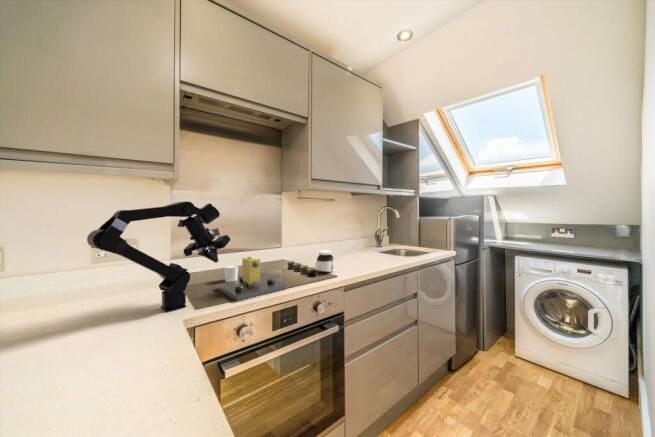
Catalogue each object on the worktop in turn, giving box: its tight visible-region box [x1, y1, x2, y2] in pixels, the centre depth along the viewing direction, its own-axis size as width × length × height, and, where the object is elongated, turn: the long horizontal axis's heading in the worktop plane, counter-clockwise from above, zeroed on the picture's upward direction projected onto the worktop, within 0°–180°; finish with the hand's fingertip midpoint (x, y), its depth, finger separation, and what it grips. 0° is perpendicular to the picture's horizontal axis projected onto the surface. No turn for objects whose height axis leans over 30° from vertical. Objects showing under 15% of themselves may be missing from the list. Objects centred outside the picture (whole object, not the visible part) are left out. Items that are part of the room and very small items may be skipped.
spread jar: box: [314, 249, 335, 275], centre depth 141 cm, size 12×11×12 cm
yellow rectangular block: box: [241, 255, 261, 284], centre depth 111 cm, size 5×9×12 cm, turn 42°
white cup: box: [223, 264, 239, 283], centre depth 126 cm, size 7×7×7 cm
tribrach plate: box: [216, 274, 287, 303], centre depth 112 cm, size 22×22×5 cm
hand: (217, 261), depth 105 cm, fingers closed
